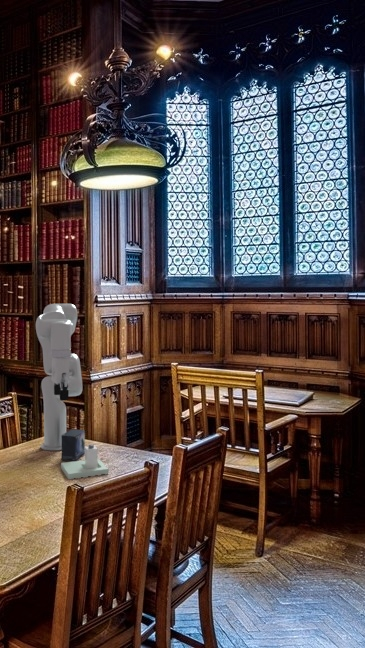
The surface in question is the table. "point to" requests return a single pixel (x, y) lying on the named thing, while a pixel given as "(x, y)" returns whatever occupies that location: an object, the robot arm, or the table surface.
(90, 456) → the block
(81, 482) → the table surface
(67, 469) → the plate
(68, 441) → the small box
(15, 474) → the table surface
